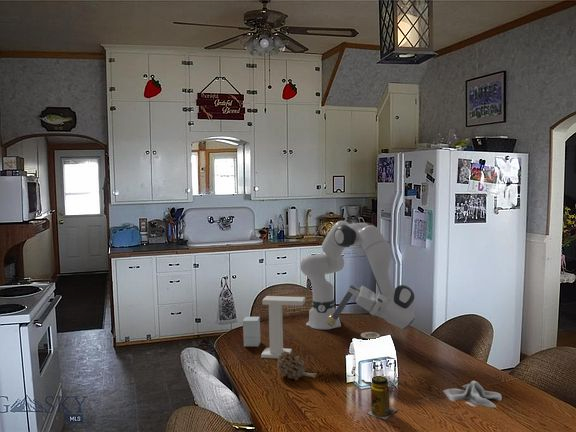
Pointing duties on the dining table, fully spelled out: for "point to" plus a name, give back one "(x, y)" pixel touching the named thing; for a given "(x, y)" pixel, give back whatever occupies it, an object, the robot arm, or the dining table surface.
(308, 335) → the dining table surface
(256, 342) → the supplement box
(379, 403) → the condiment
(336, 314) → the link bar
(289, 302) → the stand
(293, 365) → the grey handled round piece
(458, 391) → the cloth
